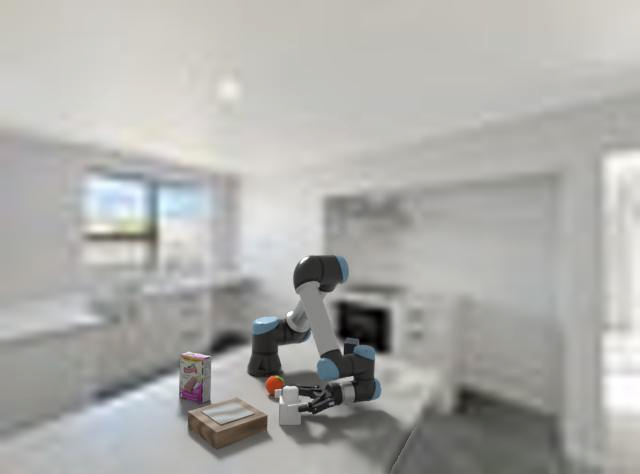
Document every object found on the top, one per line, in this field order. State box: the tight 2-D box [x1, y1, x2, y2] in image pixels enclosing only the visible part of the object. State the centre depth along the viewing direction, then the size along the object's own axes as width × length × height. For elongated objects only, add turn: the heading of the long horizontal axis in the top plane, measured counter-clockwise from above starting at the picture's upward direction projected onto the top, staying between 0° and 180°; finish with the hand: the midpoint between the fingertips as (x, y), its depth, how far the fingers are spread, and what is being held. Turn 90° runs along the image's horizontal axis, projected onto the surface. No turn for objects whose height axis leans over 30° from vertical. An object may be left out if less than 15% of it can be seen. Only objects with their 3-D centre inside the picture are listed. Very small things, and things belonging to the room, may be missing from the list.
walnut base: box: [187, 397, 269, 450], centre depth 138 cm, size 18×18×5 cm
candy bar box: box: [178, 351, 212, 404], centre depth 161 cm, size 11×5×16 cm, turn 65°
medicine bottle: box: [278, 382, 302, 426], centre depth 145 cm, size 7×7×12 cm
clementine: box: [265, 375, 286, 396], centre depth 168 cm, size 8×7×7 cm
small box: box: [342, 337, 360, 355], centre depth 210 cm, size 11×6×10 cm, turn 168°
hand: (280, 401), depth 144 cm, fingers open, 13 cm apart
